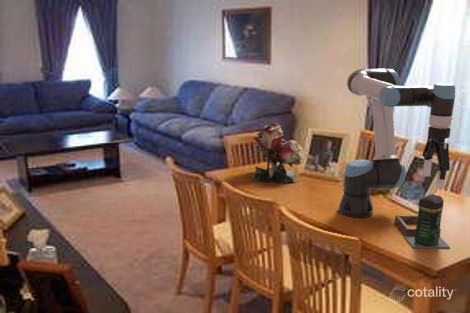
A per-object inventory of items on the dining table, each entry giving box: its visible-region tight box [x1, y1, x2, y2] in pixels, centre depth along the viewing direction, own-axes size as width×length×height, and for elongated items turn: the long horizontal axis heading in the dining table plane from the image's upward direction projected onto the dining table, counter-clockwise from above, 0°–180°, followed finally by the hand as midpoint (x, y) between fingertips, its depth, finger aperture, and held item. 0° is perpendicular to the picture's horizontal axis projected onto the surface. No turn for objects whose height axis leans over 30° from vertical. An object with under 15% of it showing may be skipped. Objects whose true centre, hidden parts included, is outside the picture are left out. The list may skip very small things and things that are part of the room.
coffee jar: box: [415, 193, 445, 246], centre depth 192 cm, size 10×8×19 cm
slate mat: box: [403, 235, 451, 249], centre depth 195 cm, size 14×10×1 cm
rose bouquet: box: [250, 122, 305, 184], centre depth 276 cm, size 26×29×30 cm
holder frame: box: [394, 214, 441, 237], centre depth 208 cm, size 13×15×3 cm
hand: (432, 181), depth 189 cm, fingers open, 13 cm apart
